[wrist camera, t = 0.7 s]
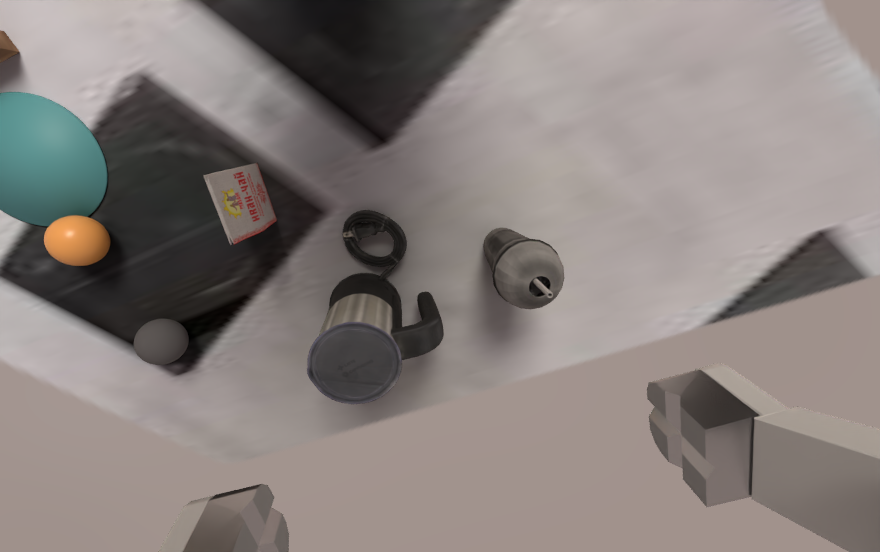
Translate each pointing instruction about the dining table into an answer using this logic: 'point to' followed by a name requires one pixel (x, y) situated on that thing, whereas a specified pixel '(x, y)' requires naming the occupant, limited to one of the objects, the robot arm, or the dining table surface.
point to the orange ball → (77, 240)
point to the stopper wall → (6, 47)
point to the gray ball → (161, 341)
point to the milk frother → (369, 323)
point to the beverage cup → (523, 268)
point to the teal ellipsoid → (47, 161)
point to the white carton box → (241, 201)
